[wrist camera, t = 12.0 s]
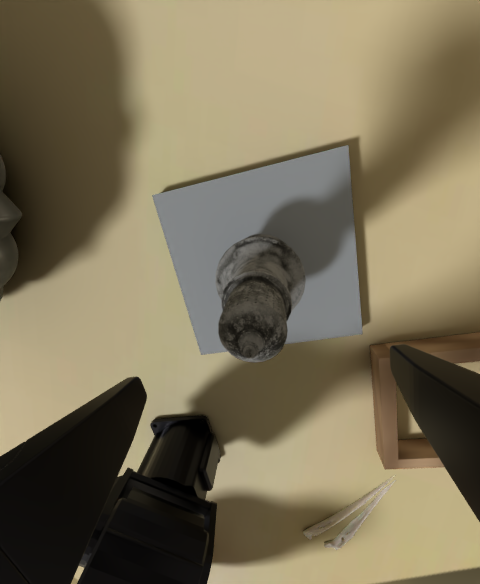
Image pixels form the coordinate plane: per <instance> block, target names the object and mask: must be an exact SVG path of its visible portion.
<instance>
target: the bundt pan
mask: <svg viewBox="0 0 480 584" xmlns="http://www.w3.org/2000/svg"><path fill="white" fill-rule="evenodd" d="M5 181H6V170H5V165H4V162H3V159H2V157H1V155H0V301H1V298H2V295H3V286H4V285H5V284H6V283H7V282H8V281H9V279H10V278H11V277H12V275H13V274H14V272H15V270H16V267H17V264H18V248H17V245H16V242H15V240H14V238H13V237H12V235H11V233H10V232H11V230H12V229H13V228H14V226H15V225H16V224H17V222H18V221H19V220H20V219H21V217H22V213H21V211H20V210H19V209H18V208H17V207H16V206H15V205H14V204H13V202H12V201H11V200H10V199H9V198H8V197H7V196H6V195H5V194H4V193H3V192H2V190H3V188H4V185H5Z"/></svg>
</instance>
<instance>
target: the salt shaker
mask: <svg viewBox="0 0 480 584" xmlns="http://www.w3.org/2000/svg"><path fill="white" fill-rule="evenodd" d="M305 281H306V279H305V271H304V267H303V265H302V263H301V260H300V258H299V257H298V255H297V254H296V253H295V252H294V251H293V249H292V248H291V247H289V246H288V245H287V244H286V243H285V242H283V241H282V240H280V239H279V238H277V237H274V236H271V235H266V234H258V235H253V236H249V237H247V238H245V239H243V240H241V241H239V242H237V243H235V244H234V245H232V246H231V247H230V248H229V249H228V250H227V251H226V252H225V253H224V255H223V256H222V258H221V259H220V261H219V263H218V267H217V270H216V281H215V284H216V288H217V292H218V295H219V297H220V299H221V301H222V303H221V306H222V309H223V312H222V314H221V316H220V320H219V323H218V334H219V337H220V341H221V343H222V345H223V346H224V348H225V349H226V350H227V351H228V352H229V353H230V354H231V355H233V356H235V357H236V358H238V359H241V360H243V361H247V362H263V361H266V360H269V359H271V358H273V357H274V356H276V355H277V354H278V353H279V352H280V351H281V350H282V348H283V346H284V344H285V342H286V339H287V332H288V329H287V320H288V318H289V316H290V314H291V311H292V310H293V309H294V308H295V307H296V305H297V304H298V303H299V302H300V299H301V297H302V295H303V293H304V288H305Z"/></svg>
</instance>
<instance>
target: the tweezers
mask: <svg viewBox="0 0 480 584" xmlns="http://www.w3.org/2000/svg"><path fill="white" fill-rule="evenodd" d="M394 476H395V475H394ZM394 476H393V477H394ZM393 477H391V478H390V479H388V480H387V481H385V482H384V483H382V484H381V485H379V486H378V487H377V488H375V489H374V490H372V491H371V492H369V493H368V494H366V495H365V496H363V497H362V498H360V499H358V500H357V501H355V502H354V503H352V504H350V505H349V506H347V507H346V508H344V509H342V510H341V511H339V512H338V513H336V514H334V515H333V516H331V517H329V518H327V519H325V520H323V521H322V522H320V523H318V524H316V525H313V526H311V527H309V528H308V529H306V530H305V531H303V533H304V535H305V536H306V537H307V538H309V539H310V540H311V538H312V535H314V536H316V535H318V534H320V533H323V532H324V531H326V530H328V529H330V528H331V527H333V526H334V525H336V524H337V523H339V522H340V521H342V520H343V519H345V518H346V517H347V516H349V515H350V514H351V513H353V512H354V511H355V510H357V509H358V508H360V507H361V506H362V505H363V504H365V503H366V502H367V501H368V500H369V499H370V498H372V497H373V496H374V495H375V494H376V493H377V492H378V491H379V490H381V489H382V488H383V487H384V486H385V485H386V484H387V483H388V482H389V481H390V480H391V479H392V478H393ZM395 481H396V480H395ZM395 481H393V482H392V483H391V484H390V485H388V486H387V487H386V488H384V489H383V490H382V491H381V492H380V494H379V495H378V496H377V497H376V498H375V499H374V500H373V501H372V502H371V503H370V504H369V505H368V506H367V508H366V509H365V510H364V511H363V512H362V513H361V514H360V515H359V516H357V517H356V518H355V519H353V520H352V521H351V522H350V523H349V524H348V525H347V526H346V527H345V528H344V529H343V530H342V532H341V533H340V534H339V535H338V536H337V537H336V538H335V539H334V540H332V541H328V542H324V547H329V548H330V547H332V548H335V549H336V550H337V549H339V548H341V547H342V546H343V545H344V544H345V543H346V542H347V541H349V540H350V539H351V538H352V537H353V536H354V535H355V533H356V532H357V530H358V529H359V527H360V526H361V524H362V523H363V522H364V520H365V519H366V518H367V516H368V515H369V514H370V512H371V511H372V510H373V508H374V507H375V506H376V505H377V503H378V502H379V501H380V499H381V498H382V497H383V495H384V494H385V493H386V492H387V491H388V489H389V488H390V487H391V486H392V484H393V483H394V482H395ZM319 527H323V528H321V529H318V528H319ZM348 532H349V533H348ZM347 533H348V534H347ZM346 534H347V535H346ZM342 537H343V538H344V541H342Z"/></svg>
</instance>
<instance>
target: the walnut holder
mask: <svg viewBox="0 0 480 584" xmlns="http://www.w3.org/2000/svg"><path fill="white" fill-rule="evenodd" d="M398 344H406V345H409V346H411V347H414V348H416V349H419V350H421V351H424V352H426V353H429V354H431V355H434V356H436V357H438V358H441V359H443V360H446V361H448V362H451V363H453V364H455V363H465V362H475V361H480V332H477V333H469V334H460V335H452V336H444V337H435V338H427V339H419V340H410V341H402V342H394V343H385V344H377V345H370V355H371V370H372V385H373V400H374V415H375V430H376V445H377V452H378V454H379V456H380V459H381V461H382V464H383V466H384V468H385V469H409V468H436V467H444V465H443V463H442V462H441V460H440V459H439V457H438V456H437V454H436V452H435V451H434V449H433V448H432V446H431V445H430V443H429V441H428V440H427V438H425V439H407V440H398V431H397V400H396V381H395V379H394V377H393V375H392V372H391V368H390V347H391V346H392V345H398Z"/></svg>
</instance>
